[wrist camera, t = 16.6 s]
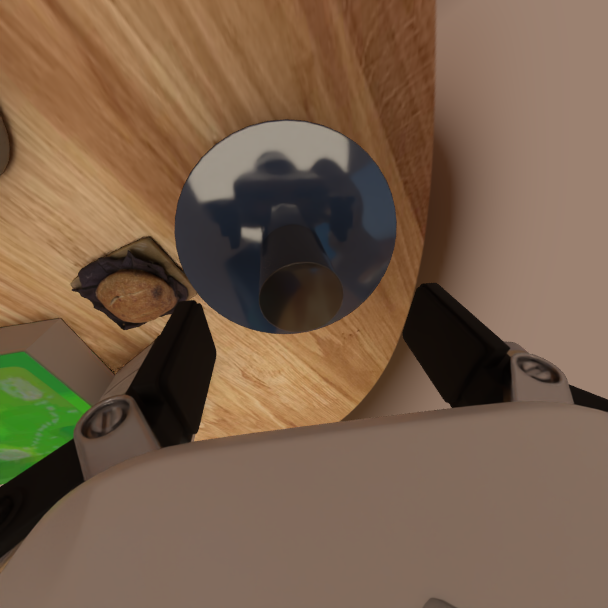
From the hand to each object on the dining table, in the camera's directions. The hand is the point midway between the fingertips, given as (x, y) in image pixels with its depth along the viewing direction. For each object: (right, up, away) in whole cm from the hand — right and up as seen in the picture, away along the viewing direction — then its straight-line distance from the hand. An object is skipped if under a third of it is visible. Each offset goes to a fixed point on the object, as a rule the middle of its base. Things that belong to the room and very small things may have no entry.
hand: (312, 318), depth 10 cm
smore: (-18, +3, +15) cm, 24 cm away
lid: (-1, +4, +5) cm, 7 cm away
